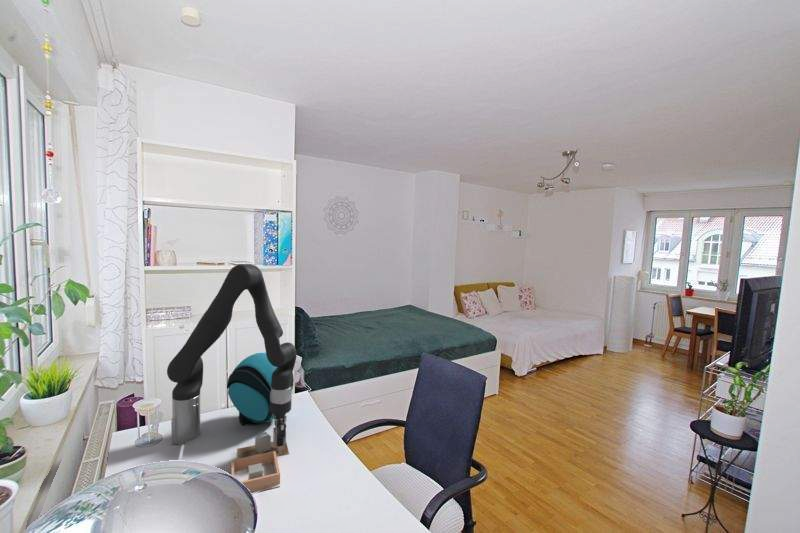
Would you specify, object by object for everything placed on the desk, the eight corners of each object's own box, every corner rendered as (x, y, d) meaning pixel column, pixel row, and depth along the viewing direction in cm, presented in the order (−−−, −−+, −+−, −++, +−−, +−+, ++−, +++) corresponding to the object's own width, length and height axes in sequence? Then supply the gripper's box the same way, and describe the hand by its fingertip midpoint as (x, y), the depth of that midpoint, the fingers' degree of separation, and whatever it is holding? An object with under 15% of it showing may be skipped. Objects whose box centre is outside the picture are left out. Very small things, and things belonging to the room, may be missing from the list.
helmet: (303, 420, 154) (305, 353, 152) (257, 446, 134) (258, 370, 131) (263, 403, 168) (264, 341, 165) (216, 425, 147) (216, 354, 144)
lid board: (237, 468, 122) (237, 465, 121) (237, 451, 131) (237, 448, 130) (289, 457, 129) (289, 454, 129) (285, 442, 138) (285, 439, 138)
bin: (231, 499, 108) (231, 485, 107) (231, 472, 119) (231, 460, 119) (279, 487, 114) (280, 474, 113) (275, 462, 125) (275, 450, 125)
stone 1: (248, 480, 115) (248, 465, 115) (261, 477, 117) (261, 462, 116) (249, 488, 111) (249, 473, 111) (262, 485, 113) (262, 470, 113)
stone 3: (274, 446, 129) (274, 433, 128) (273, 440, 132) (273, 427, 132) (285, 444, 130) (286, 431, 130) (284, 438, 134) (284, 426, 134)
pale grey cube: (259, 453, 128) (260, 440, 128) (255, 448, 131) (255, 435, 130) (270, 449, 131) (270, 436, 131) (265, 444, 134) (265, 431, 133)
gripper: (268, 391, 135) (266, 434, 136) (272, 408, 122) (270, 455, 123) (288, 388, 138) (287, 430, 139) (294, 405, 125) (292, 451, 127)
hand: (279, 442), depth 131 cm, fingers closed on stone 3, 4 cm apart
